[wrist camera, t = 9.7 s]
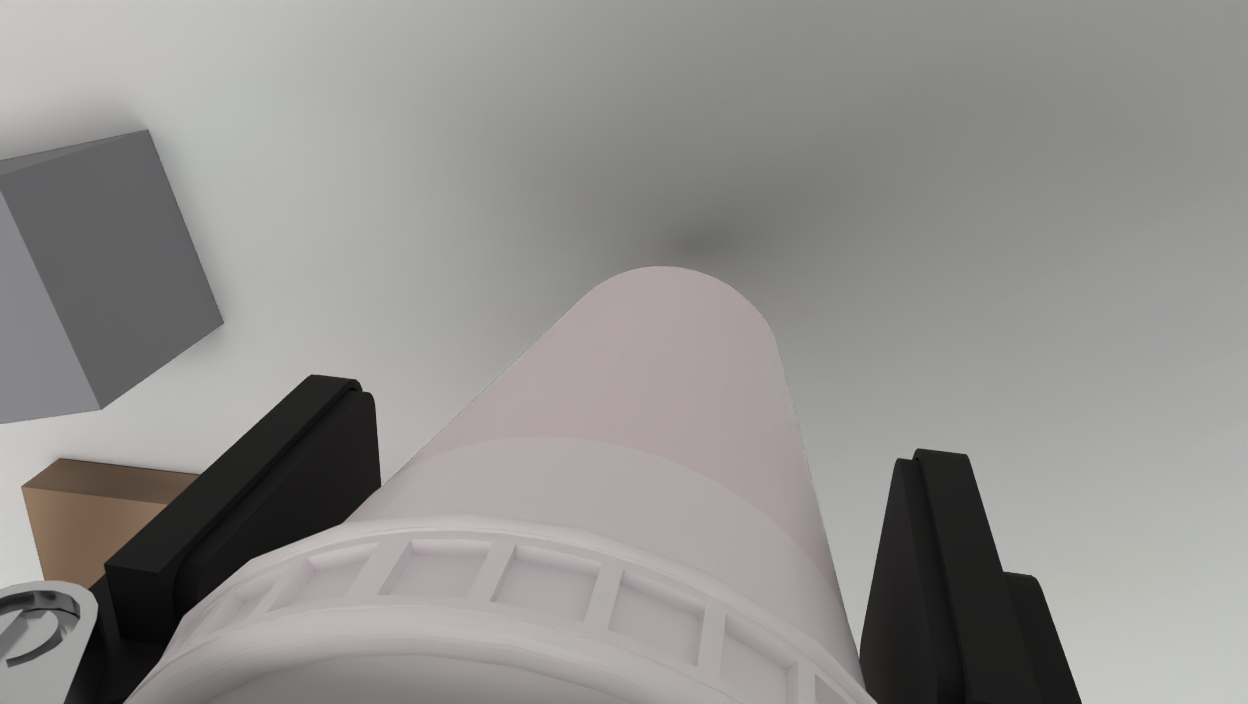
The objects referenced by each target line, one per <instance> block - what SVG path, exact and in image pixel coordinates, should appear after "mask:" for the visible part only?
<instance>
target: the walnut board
mask: <svg viewBox="0 0 1248 704" xmlns="http://www.w3.org/2000/svg"><path fill="white" fill-rule="evenodd" d="M199 476H200V475H191V474H183V473H175V472H166V471H158V470H149V469H141V468H133V467H124V466H116V465H107V464H99V463H91V462H82V461H74V460H65V459H58V460H57V461H55V462H54V463H53V464H51V465H50V466H48V467H47V468H46V469H44V470H43V471H42V472H40V473H39V474H38V475H36V476H35V477H34V478H32V479H31V480H30V481H28V482H27V483H25V484H24V485H23V486H21V488H22V492H23V496H24V500H25V504H26V508H27V512H28V516H29V520H30V524H31V528H32V532H33V536H34V540H35V544H36V548H37V552H38V556H39V560H40V564H41V568H42V572H43V576H44V580H45V581H64V582H69V583H74V584H78V585H80V586H82V587H84V588H85V589H87V590H88V589H89V588H90V587H91V586H92V585H93V584H94V583H95V582H97V581H98V580H99V579H100V578H101V577H102V576H103V575H104V574H105V569H104V563H105V562H106V561H107V560H108V559H110V558H111V557H112V556H113V555H114V554H115V553H116V552H117V551H118V550H119V549H120V548H122V547H123V546H124V545H125V544H126V543H127V542H128V541H129V540H130V539H131V538H132V537H134V536H135V535H136V534H137V533H138V532H139V531H140V530H141V529H142V528H143V527H144V526H146V525H147V524H148V523H149V522H150V521H151V520H152V519H153V518H154V517H155V516H156V515H158V514H159V513H160V512H161V511H162V510H163V509H164V508H165V507H166V506H167V505H168V504H169V503H171V502H172V501H173V500H174V499H175V498H176V497H177V496H178V495H179V494H180V493H181V492H183V491H184V490H185V489H186V488H187V487H188V486H189V485H190V484H191V483H192V482H193V481H195V480H196V479H197V478H198V477H199Z"/></svg>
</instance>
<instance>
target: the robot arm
mask: <svg viewBox="0 0 1248 704" xmlns="http://www.w3.org/2000/svg"><path fill="white" fill-rule="evenodd" d="M380 487H381V476H380V463H379V450H378V437H377V424H376V410H375V402H374V398H373V396H372V394H371V393H369V392H363V390H362V387H361V385H360V383H359V382H358V381H357V380H356V379H347V378H339V377H331V376H323V375H310V376H308V377H307V378H306V379H305V380H304V381H302V382H301V383H300V384H299V385H298V386H297V387H296V388H295V389H294V390H293V391H292V392H290V393H289V394H288V395H287V396H286V397H285V398H284V399H283V400H282V401H281V402H280V403H278V404H277V405H276V406H275V407H274V408H273V409H272V410H271V411H270V412H269V413H268V414H266V415H265V416H264V417H263V418H262V419H261V420H260V421H259V422H258V423H257V424H256V425H254V426H253V427H252V428H251V429H250V430H249V431H248V432H247V433H246V434H245V435H244V436H242V437H241V438H240V439H239V440H238V441H237V442H236V443H235V444H234V445H233V446H232V447H231V448H229V449H228V450H227V451H226V452H225V453H224V454H223V455H222V456H221V457H220V458H219V459H217V460H216V461H215V462H214V463H213V464H212V465H211V466H210V467H209V468H208V469H207V470H205V471H204V472H203V473H202V474H201V475H200V476H199V477H198V478H197V479H196V480H195V481H193V482H192V483H191V484H190V485H189V486H188V487H187V488H186V489H185V490H184V491H183V492H181V493H180V494H179V495H178V496H177V497H176V498H175V499H174V500H173V501H172V502H171V503H169V504H168V505H167V506H166V507H165V508H164V509H163V510H162V511H161V512H160V513H159V514H158V515H156V516H155V517H154V518H153V519H152V520H151V521H150V522H149V523H148V524H147V525H146V526H144V527H143V528H142V529H141V530H140V531H139V532H138V533H137V534H136V535H135V536H134V537H132V538H131V539H130V540H129V541H128V542H127V543H126V544H125V545H124V546H123V547H122V548H120V549H119V550H118V551H117V552H116V553H115V554H114V555H113V556H112V557H111V558H110V559H108V560H107V561H106V562H105V563H104V569H105V574H104V575H103V576H102V577H101V578H100V579H99V580H98V581H97V582H95V583H94V584H93V585H92V586H91V587H90V588H89V589H88V590H87V589H85V588H84V587H82V586H80V585H78V584H74V583H69V582H64V581H34V582H28V583H23V584H17V585H12V586H9V587H6V588H3V589H0V704H123V703H124V702H125V701H126V699H127V698H128V697H129V696H130V695H131V694H132V693H133V691H134V690H135V689H136V688H137V687H138V686H139V684H140V683H141V682H142V681H143V680H144V679H145V677H146V676H147V675H148V674H149V673H150V672H151V670H152V669H153V668H154V667H155V666H156V665H157V664H158V662H159V661H160V659H161V657H162V656H163V654H164V652H165V650H166V648H167V646H168V644H169V642H170V641H171V639H172V637H173V635H174V633H175V631H176V629H177V627H178V625H179V624H180V622H181V620H182V618H183V616H184V615H185V614H186V613H188V612H189V611H190V610H191V609H192V608H194V607H195V606H196V605H197V604H198V603H200V602H201V601H202V600H203V599H204V598H205V597H207V596H208V595H209V594H210V593H211V592H213V591H214V590H215V589H216V588H217V587H219V586H220V585H221V584H222V583H223V582H224V581H226V580H227V579H228V578H229V577H230V576H232V575H233V574H234V573H235V572H236V571H238V570H239V569H240V568H241V567H242V566H244V565H245V564H246V563H247V562H248V561H249V560H251V559H253V558H256V557H258V556H261V555H263V554H266V553H268V552H271V551H274V550H276V549H279V548H281V547H284V546H286V545H289V544H292V543H294V542H297V541H299V540H302V539H304V538H307V537H310V536H312V535H315V534H317V533H320V532H322V531H325V530H328V529H330V528H333V527H335V526H338V525H340V524H342V523H343V522H344V521H345V520H346V519H347V518H348V517H349V516H350V515H351V514H352V513H354V512H355V511H356V510H357V509H358V508H359V507H360V506H361V505H362V504H363V503H364V502H365V501H366V500H367V499H368V498H369V497H370V496H371V495H372V494H373V493H374V492H375V491H377V490H378V489H379V488H380ZM859 662H860V666H861V671H862V675H863V679H864V684H865V688H866V692H867V693H868V694H869V695H870V696H871V697H872V698H873V699H874V700H875V701H876V702H877V703H878V704H1082V702H1081V699H1080V696H1079V694H1078V691H1077V688H1076V685H1075V682H1074V679H1073V677H1072V674H1071V671H1070V668H1069V665H1068V662H1067V659H1066V657H1065V654H1064V651H1063V648H1062V645H1061V642H1060V640H1059V637H1058V634H1057V631H1056V628H1055V625H1054V623H1053V620H1052V617H1051V614H1050V611H1049V608H1048V605H1047V603H1046V600H1045V597H1044V594H1043V591H1042V588H1041V586H1040V584H1039V582H1038V580H1037V579H1036V578H1035V577H1033V576H1031V575H1025V574H1018V573H1011V572H1003V570H1002V566H1001V563H1000V560H999V556H998V553H997V550H996V546H995V543H994V540H993V536H992V533H991V530H990V526H989V523H988V520H987V517H986V513H985V510H984V507H983V503H982V500H981V497H980V493H979V490H978V487H977V483H976V480H975V477H974V473H973V470H972V467H971V463H970V460H969V458H968V456H967V455H966V454H960V453H952V452H943V451H935V450H927V449H919V448H917V450H916V451H915V453H914V456H913V459H912V460H909V459H901V458H898V459H897V460H896V463H895V466H894V470H893V475H892V481H891V486H890V491H889V496H888V502H887V507H886V512H885V517H884V522H883V528H882V533H881V538H880V543H879V548H878V554H877V559H876V564H875V569H874V574H873V580H872V585H871V590H870V595H869V601H868V606H867V611H866V616H865V621H864V627H863V632H862V637H861V645H860V658H859Z"/></svg>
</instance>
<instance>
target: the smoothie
mask: <svg viewBox="0 0 1248 704" xmlns="http://www.w3.org/2000/svg"><path fill="white" fill-rule="evenodd" d="M123 704H878V703H877V702H876V701H875V700H874V699H873V698H872V697H871V696H870V695H869V694H868V693H867V692H866V688H865V684H864V679H863V675H862V671H861V666H860V662H859V658H858V653H857V649H856V646H855V642H854V639H853V636H852V633H851V629H850V626H849V624H848V620H847V616H846V612H845V608H844V604H843V600H842V596H841V592H840V588H839V584H838V580H837V577H836V573H835V569H834V565H833V561H832V557H831V553H830V549H829V545H828V541H827V537H826V533H825V529H824V525H823V521H822V517H821V514H820V510H819V506H818V502H817V498H816V494H815V490H814V486H813V482H812V478H811V474H810V470H809V466H808V462H807V458H806V454H805V451H804V447H803V443H802V439H801V435H800V431H799V427H798V423H797V419H796V415H795V411H794V407H793V403H792V399H791V395H790V391H789V388H788V384H787V380H786V376H785V372H784V368H783V364H782V360H781V356H780V352H779V349H778V346H777V342H776V340H775V338H774V335H773V333H772V331H771V329H770V327H769V326H768V324H767V322H766V321H765V319H764V318H763V316H762V315H761V314H760V312H759V311H758V310H757V309H756V308H755V307H754V305H753V304H752V303H751V302H750V301H749V300H747V299H746V298H745V297H744V296H743V295H742V294H740V293H739V292H738V291H737V290H735V289H734V288H732V287H731V286H729V285H728V284H726V283H724V282H722V281H720V280H718V279H717V278H714V277H712V276H710V275H707V274H705V273H701V272H698V271H695V270H691V269H686V268H681V267H672V266H652V267H643V268H638V269H633V270H629V271H626V272H623V273H620V274H618V275H615V276H613V277H611V278H609V279H607V280H605V281H603V282H602V283H600V284H598V285H597V286H595V287H594V288H593V289H591V290H590V291H589V292H588V293H586V294H585V295H584V296H583V297H582V298H581V299H580V300H579V301H578V302H577V303H576V304H575V305H574V306H573V307H572V308H571V309H570V310H568V311H567V312H566V313H565V314H564V315H563V316H562V317H561V318H560V319H559V320H558V321H557V322H556V323H555V324H554V325H553V326H552V327H551V328H549V329H548V330H547V331H546V332H545V333H544V334H543V335H542V336H541V337H540V338H539V339H538V340H537V341H536V342H535V343H534V344H533V345H531V346H530V347H529V348H528V349H527V350H526V351H525V352H524V353H523V354H522V355H521V356H520V357H519V358H518V359H517V360H516V361H515V362H513V363H512V364H511V365H510V366H509V367H508V368H507V369H506V370H505V371H504V372H503V373H502V374H501V375H500V376H499V377H498V378H497V379H496V380H494V381H493V382H492V383H491V384H490V385H489V386H488V387H487V388H486V389H485V390H484V391H483V392H482V393H481V394H480V395H479V396H478V397H476V398H475V399H474V400H473V401H472V402H471V403H470V404H469V405H468V406H467V407H466V408H465V409H464V410H463V411H462V412H461V413H460V414H458V415H457V416H456V417H455V418H454V419H453V420H452V421H451V422H450V423H449V424H448V425H447V426H446V427H445V428H444V429H443V430H442V431H440V432H439V433H438V434H437V435H436V436H435V437H434V438H433V439H432V440H431V441H430V442H429V443H428V444H427V445H426V446H425V447H424V448H423V449H421V450H420V451H419V452H418V453H417V454H416V455H415V456H414V457H413V458H412V459H411V460H410V461H409V462H408V463H407V464H406V465H405V466H403V467H402V468H401V469H400V470H399V471H398V472H397V473H396V474H395V475H394V476H393V477H392V478H391V479H390V480H389V481H388V482H387V483H385V484H384V485H383V486H382V487H380V488H379V489H378V490H377V491H375V492H374V493H373V494H372V495H371V496H370V497H369V498H368V499H367V500H366V501H365V502H364V503H363V504H362V505H361V506H360V507H359V508H358V509H357V510H356V511H355V512H354V513H352V514H351V515H350V516H349V517H348V518H347V519H346V520H345V521H344V522H343V523H342V524H340V525H338V526H335V527H333V528H330V529H328V530H325V531H322V532H320V533H317V534H315V535H312V536H310V537H307V538H304V539H302V540H299V541H297V542H294V543H292V544H289V545H286V546H284V547H281V548H279V549H276V550H274V551H271V552H268V553H266V554H263V555H261V556H258V557H256V558H253V559H251V560H249V561H248V562H247V563H246V564H245V565H244V566H242V567H241V568H240V569H239V570H238V571H236V572H235V573H234V574H233V575H232V576H230V577H229V578H228V579H227V580H226V581H224V582H223V583H222V584H221V585H220V586H219V587H217V588H216V589H215V590H214V591H213V592H211V593H210V594H209V595H208V596H207V597H205V598H204V599H203V600H202V601H201V602H200V603H198V604H197V605H196V606H195V607H194V608H192V609H191V610H190V611H189V612H188V613H186V614H185V615H184V616H183V618H182V620H181V622H180V624H179V625H178V627H177V629H176V631H175V633H174V635H173V637H172V639H171V641H170V642H169V644H168V646H167V648H166V650H165V652H164V654H163V656H162V657H161V659H160V661H159V662H158V664H157V665H156V666H155V667H154V668H153V669H152V670H151V672H150V673H149V674H148V675H147V676H146V677H145V679H144V680H143V681H142V682H141V683H140V684H139V686H138V687H137V688H136V689H135V690H134V691H133V693H132V694H131V695H130V696H129V697H128V698H127V699H126V701H125V702H124V703H123Z"/></svg>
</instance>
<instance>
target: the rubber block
mask: <svg viewBox="0 0 1248 704" xmlns="http://www.w3.org/2000/svg"><path fill="white" fill-rule="evenodd" d="M223 323H224V322H223V319H222V317H221V314H220V312H219V309H218V306H217V304H216V301H215V299H214V296H213V294H212V291H211V289H210V286H209V283H208V281H207V278H206V276H205V273H204V271H203V268H202V266H201V263H200V260H199V258H198V255H197V253H196V250H195V248H194V245H193V243H192V240H191V237H190V235H189V232H188V230H187V227H186V225H185V222H184V220H183V217H182V214H181V212H180V209H179V207H178V204H177V202H176V199H175V197H174V194H173V191H172V189H171V186H170V184H169V181H168V179H167V176H166V174H165V171H164V168H163V166H162V163H161V161H160V158H159V156H158V153H157V151H156V148H155V145H154V143H153V140H152V138H151V135H150V133H149V130H144V131H139V132H134V133H130V134H125V135H120V136H115V137H111V138H106V139H101V140H96V141H92V142H87V143H82V144H77V145H73V146H68V147H63V148H58V149H54V150H49V151H44V152H39V153H35V154H30V155H25V156H20V157H16V158H11V159H6V160H1V161H0V424H5V423H12V422H19V421H26V420H33V419H40V418H47V417H54V416H61V415H68V414H75V413H82V412H89V411H97V410H102V409H103V408H104V407H106V406H107V405H109V404H110V403H112V402H113V401H114V400H116V399H117V398H119V397H120V396H121V395H123V394H124V393H126V392H127V391H128V390H130V389H131V388H133V387H134V386H136V385H137V384H138V383H140V382H141V381H143V380H144V379H145V378H147V377H148V376H150V375H151V374H152V373H154V372H155V371H157V370H158V369H160V368H161V367H162V366H164V365H165V364H167V363H168V362H169V361H171V360H172V359H174V358H175V357H177V356H178V355H179V354H181V353H182V352H184V351H185V350H186V349H188V348H189V347H191V346H192V345H193V344H195V343H196V342H198V341H199V340H201V339H202V338H203V337H205V336H206V335H208V334H209V333H210V332H212V331H213V330H215V329H216V328H217V327H219V326H220V325H222V324H223Z"/></svg>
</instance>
